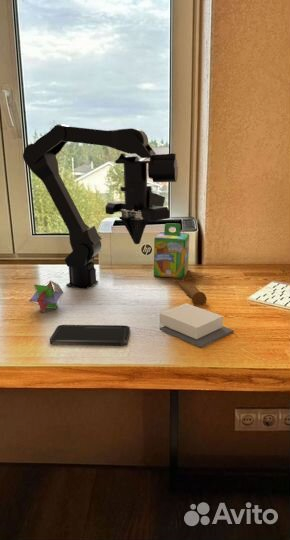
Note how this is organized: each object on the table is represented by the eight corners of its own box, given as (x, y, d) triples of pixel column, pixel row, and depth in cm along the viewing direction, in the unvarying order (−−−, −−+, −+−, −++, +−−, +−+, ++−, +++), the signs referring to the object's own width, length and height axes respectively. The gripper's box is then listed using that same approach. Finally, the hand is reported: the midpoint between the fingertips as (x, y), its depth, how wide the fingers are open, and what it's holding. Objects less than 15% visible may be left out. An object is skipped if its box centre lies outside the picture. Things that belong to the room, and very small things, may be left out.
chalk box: (153, 277, 118) (153, 226, 114) (159, 268, 127) (159, 220, 122) (185, 279, 116) (186, 227, 112) (189, 269, 125) (190, 221, 120)
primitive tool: (173, 282, 115) (173, 270, 114) (191, 281, 115) (192, 269, 114) (192, 307, 96) (192, 293, 95) (214, 306, 97) (215, 292, 96)
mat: (160, 329, 84) (159, 328, 84) (192, 316, 90) (192, 314, 90) (201, 348, 76) (201, 346, 76) (233, 331, 82) (233, 330, 82)
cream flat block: (159, 313, 84) (197, 327, 77) (185, 303, 89) (222, 316, 82) (159, 325, 85) (196, 340, 78) (185, 314, 90) (222, 328, 83)
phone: (126, 342, 77) (47, 341, 78) (126, 348, 77) (48, 346, 78) (130, 325, 84) (58, 324, 85) (130, 330, 85) (59, 329, 86)
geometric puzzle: (48, 310, 89) (57, 276, 91) (20, 307, 91) (30, 273, 93) (62, 318, 95) (70, 286, 98) (36, 315, 97) (44, 284, 100)
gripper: (185, 181, 99) (185, 244, 104) (135, 178, 113) (136, 234, 117) (152, 185, 92) (153, 252, 97) (103, 181, 106) (105, 240, 110)
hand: (137, 243), depth 105 cm, fingers closed
